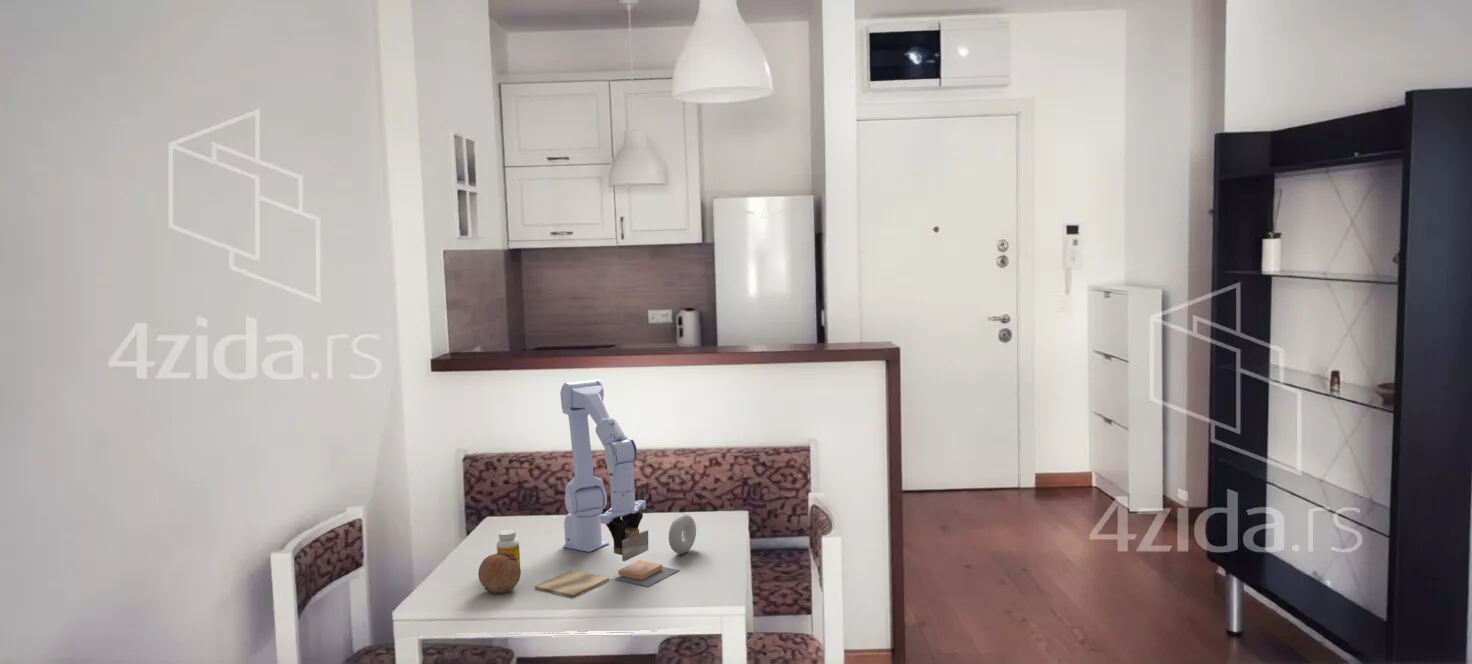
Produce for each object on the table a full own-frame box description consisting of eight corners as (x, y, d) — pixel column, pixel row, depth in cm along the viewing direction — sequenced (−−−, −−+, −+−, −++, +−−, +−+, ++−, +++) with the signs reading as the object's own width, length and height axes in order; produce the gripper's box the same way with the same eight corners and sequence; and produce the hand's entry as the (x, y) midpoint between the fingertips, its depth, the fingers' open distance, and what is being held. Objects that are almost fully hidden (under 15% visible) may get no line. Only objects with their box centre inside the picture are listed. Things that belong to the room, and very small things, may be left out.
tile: (618, 570, 218) (641, 575, 214) (639, 560, 225) (662, 564, 221) (618, 575, 218) (641, 580, 214) (639, 565, 225) (662, 570, 221)
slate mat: (614, 579, 216) (614, 579, 216) (646, 564, 226) (646, 563, 226) (648, 587, 211) (648, 586, 211) (679, 570, 221) (679, 570, 221)
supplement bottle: (496, 568, 227) (493, 531, 226) (517, 565, 229) (515, 527, 229) (500, 575, 222) (498, 536, 221) (522, 571, 225) (520, 533, 224)
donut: (678, 560, 229) (676, 520, 228) (666, 558, 230) (664, 519, 229) (699, 548, 237) (698, 510, 236) (688, 546, 239) (686, 508, 238)
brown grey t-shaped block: (606, 556, 219) (606, 532, 218) (630, 545, 227) (630, 522, 226) (624, 561, 216) (624, 536, 215) (648, 550, 224) (648, 526, 223)
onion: (515, 598, 215) (531, 557, 217) (505, 602, 206) (522, 559, 207) (477, 584, 215) (494, 543, 217) (466, 588, 206) (483, 545, 208)
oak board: (535, 588, 213) (534, 585, 213) (571, 572, 223) (571, 569, 222) (573, 597, 206) (573, 595, 206) (608, 580, 216) (608, 578, 216)
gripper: (615, 499, 212) (618, 556, 213) (654, 484, 224) (656, 538, 225) (592, 495, 216) (595, 552, 217) (632, 481, 228) (634, 534, 229)
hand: (625, 545), depth 221 cm, fingers closed on brown grey t-shaped block, 3 cm apart
